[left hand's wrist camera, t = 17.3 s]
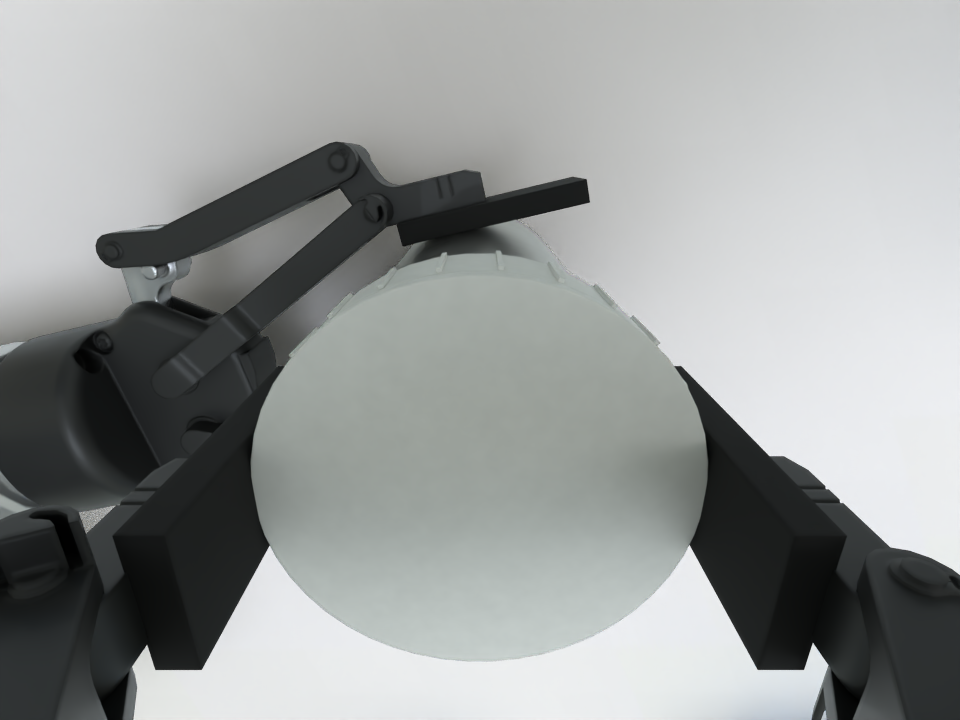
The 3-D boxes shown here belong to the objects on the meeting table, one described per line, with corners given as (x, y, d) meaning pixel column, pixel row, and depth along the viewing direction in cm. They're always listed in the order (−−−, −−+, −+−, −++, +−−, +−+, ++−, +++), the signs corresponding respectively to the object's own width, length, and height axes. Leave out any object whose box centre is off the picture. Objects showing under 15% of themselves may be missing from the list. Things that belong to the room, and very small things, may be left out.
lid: (256, 539, 13) (215, 609, 11) (335, 186, 10) (298, 192, 8) (581, 623, 15) (598, 701, 12) (744, 327, 11) (803, 364, 9)
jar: (549, 195, 24) (657, 250, 9) (570, 356, 27) (678, 589, 12) (380, 228, 25) (231, 330, 10) (419, 382, 28) (349, 636, 13)
